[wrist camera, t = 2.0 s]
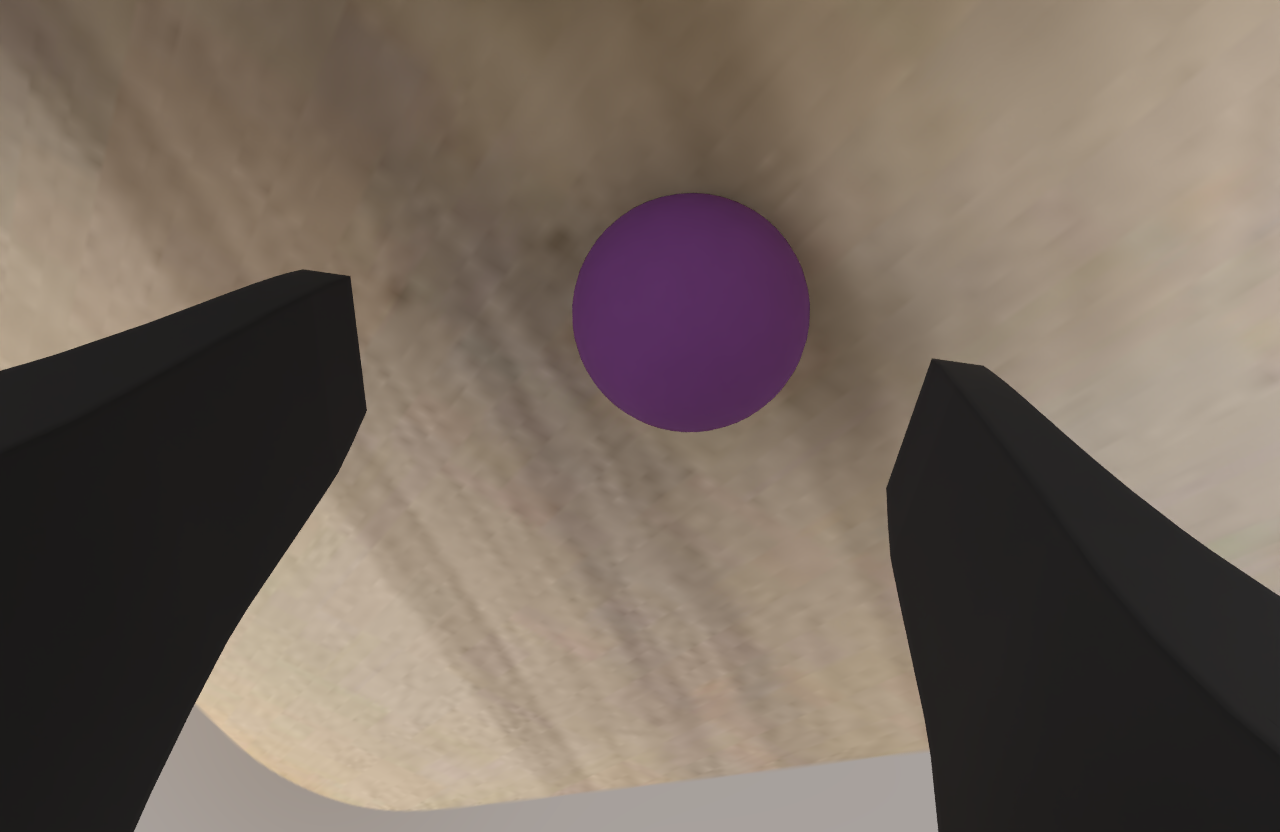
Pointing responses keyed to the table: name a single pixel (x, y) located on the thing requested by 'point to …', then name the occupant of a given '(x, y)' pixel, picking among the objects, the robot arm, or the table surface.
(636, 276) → the ball
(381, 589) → the table surface
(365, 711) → the table surface
